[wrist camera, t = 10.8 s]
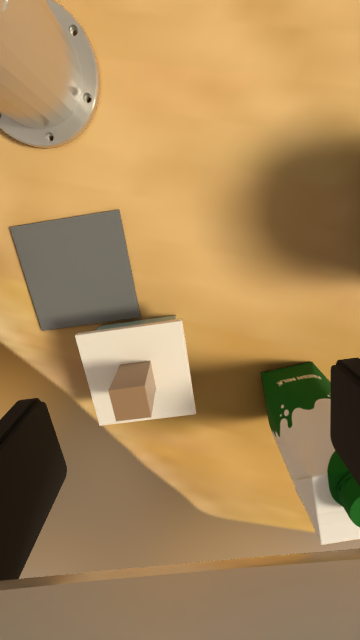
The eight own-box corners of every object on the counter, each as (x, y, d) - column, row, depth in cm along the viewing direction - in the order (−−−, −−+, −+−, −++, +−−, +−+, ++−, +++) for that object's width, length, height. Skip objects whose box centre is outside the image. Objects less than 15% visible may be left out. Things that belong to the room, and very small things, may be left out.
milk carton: (317, 353, 40) (440, 474, 21) (324, 410, 42) (438, 563, 23) (252, 367, 40) (313, 496, 21) (263, 422, 43) (325, 579, 24)
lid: (77, 333, 34) (54, 356, 28) (181, 318, 33) (181, 339, 27) (101, 421, 37) (85, 459, 31) (196, 410, 37) (198, 446, 31)
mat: (11, 227, 35) (9, 227, 35) (119, 209, 34) (118, 209, 34) (43, 329, 39) (41, 330, 39) (140, 316, 38) (140, 317, 38)
